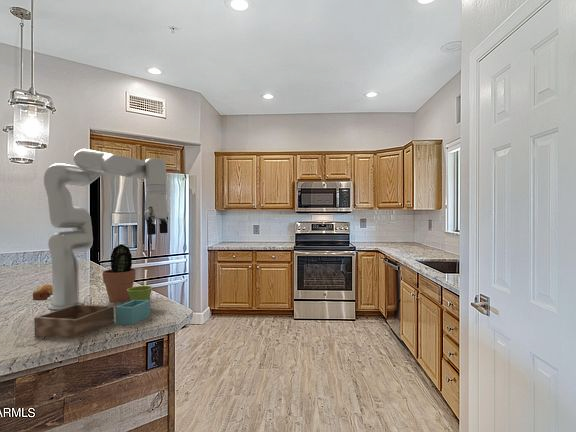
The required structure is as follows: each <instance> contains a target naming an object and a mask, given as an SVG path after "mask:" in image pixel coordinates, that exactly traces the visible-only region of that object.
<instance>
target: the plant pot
mask: <svg viewBox="0 0 576 432" xmlns="http://www.w3.org/2000/svg"><path fill="white" fill-rule="evenodd" d="M152 289H153V286H152V285H137V286H133V287H132V288H129V289H127V291H128V293H129V295H130V299H129V300H130V301H133V300H150V301H151V294H152Z"/></svg>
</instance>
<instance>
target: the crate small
mask: <svg viewBox="0 0 576 432" xmlns="http://www.w3.org/2000/svg"><path fill="white" fill-rule="evenodd" d="M150 301H151V299H150V300H133V301H131V300H130V301H127V302H125V303H123V304H120V305H117V306H115V324H117V325H132V326H133V325H134V324H136V323H138V322H139V323H140V322H141V321H143V320H145V319H147V318H149V317H151V302H150Z"/></svg>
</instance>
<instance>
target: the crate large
mask: <svg viewBox="0 0 576 432" xmlns="http://www.w3.org/2000/svg"><path fill="white" fill-rule="evenodd" d="M114 315H115V311H114V306H112V305H93V304H92V305H90V304H83V305H73V306H70V307H67V308H64V309H59V310H53V311H51V312H48V313H44V314H42V315H38V316H35V317H34V319H33V321H34V322H33V325H34V336H35V337H36V336H37V337H49V338H50V337H52V338H61V337H62V338H64V339H65V338H66V339H75V338H76V339H79V338H81V337H84V336H86V335H88V334H90V332H91V333H92V332H96V331H97V330H100V329H102V328H104V327H106V325H107V326H108V325H112V324H113V322H115V321H114V320H115V316H114ZM101 327H102V328H101ZM99 328H100V329H99Z"/></svg>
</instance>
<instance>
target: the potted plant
mask: <svg viewBox="0 0 576 432" xmlns="http://www.w3.org/2000/svg"><path fill="white" fill-rule="evenodd" d="M132 258H133V256H132V253H131V251H130V247H129V246H126V245H124V244H122V243H120V244H118V245H117V246H115V247H113V250H112V252H111V255H110V268H111V269H106V270H103V271H102V282H103V284H105V288H106V293H107V298H108V301H110V302H113V303H115V302H125V301H128V300H130V295H129V293H128V291H127V289H129V288H132V287H134V282H135V280H136V274H137V272H136V271H137V269H136V268H133V267H132V265H133V262H132V261H133V259H132ZM124 300H125V301H124Z"/></svg>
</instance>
